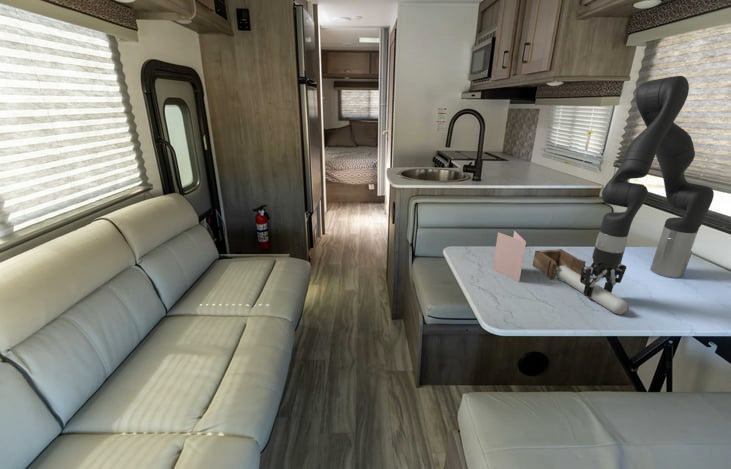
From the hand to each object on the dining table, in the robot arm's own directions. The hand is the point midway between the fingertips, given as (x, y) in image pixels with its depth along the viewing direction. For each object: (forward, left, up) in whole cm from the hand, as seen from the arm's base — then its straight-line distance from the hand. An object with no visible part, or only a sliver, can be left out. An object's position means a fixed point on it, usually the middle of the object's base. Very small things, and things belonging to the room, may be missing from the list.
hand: (596, 294), depth 114 cm
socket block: (0, -19, -1) cm, 19 cm away
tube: (+1, -2, -2) cm, 3 cm away
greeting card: (+20, -20, -1) cm, 28 cm away
